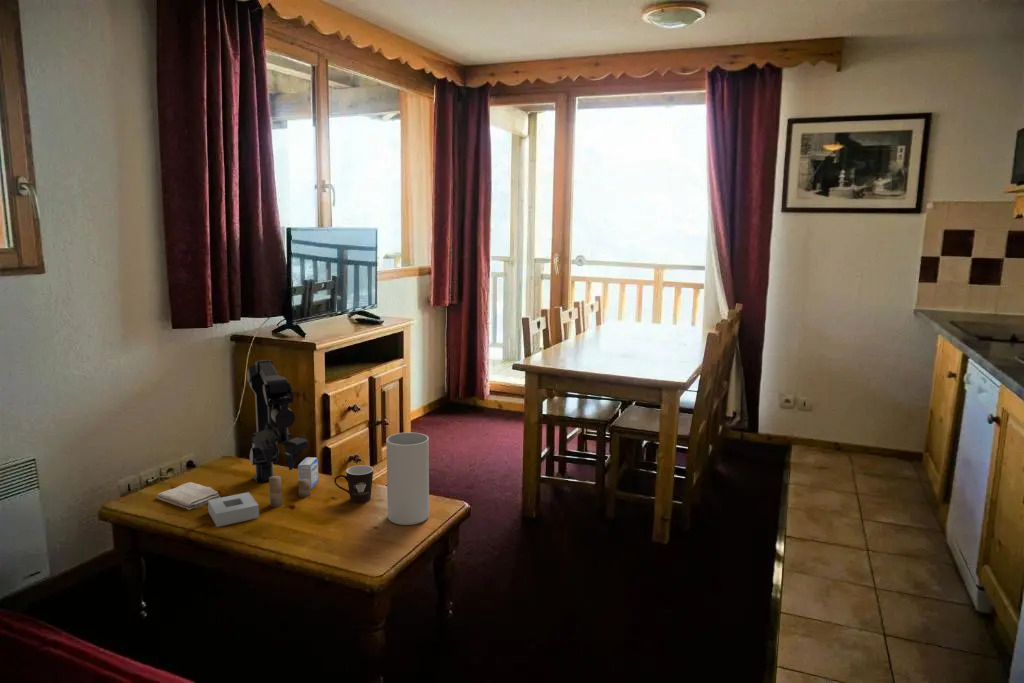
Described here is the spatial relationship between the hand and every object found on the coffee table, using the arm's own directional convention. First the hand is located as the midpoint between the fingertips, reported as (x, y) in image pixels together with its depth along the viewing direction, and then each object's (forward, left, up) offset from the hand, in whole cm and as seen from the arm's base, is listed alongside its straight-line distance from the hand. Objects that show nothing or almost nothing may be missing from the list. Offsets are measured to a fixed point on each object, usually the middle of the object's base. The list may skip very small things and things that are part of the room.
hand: (279, 467), depth 213 cm
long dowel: (-1, -1, -13) cm, 13 cm away
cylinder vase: (+30, +30, -13) cm, 44 cm away
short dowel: (-4, +9, -13) cm, 16 cm away
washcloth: (-21, -23, -13) cm, 34 cm away
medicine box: (-12, +13, -13) cm, 22 cm away
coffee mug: (+8, +22, -13) cm, 26 cm away
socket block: (0, -14, -13) cm, 19 cm away
